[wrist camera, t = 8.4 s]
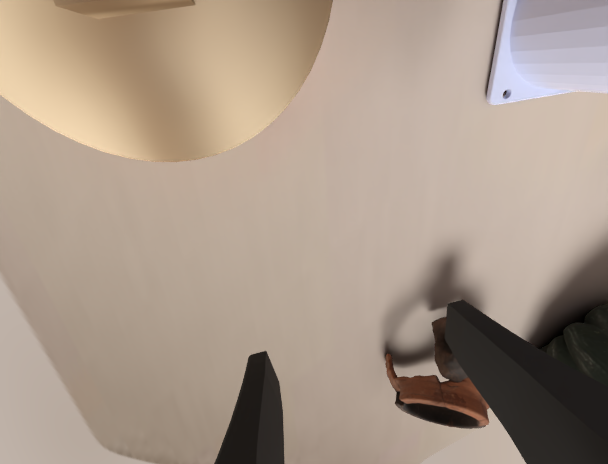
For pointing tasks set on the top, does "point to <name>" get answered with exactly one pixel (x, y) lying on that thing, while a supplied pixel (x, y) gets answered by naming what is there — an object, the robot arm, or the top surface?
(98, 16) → the lid
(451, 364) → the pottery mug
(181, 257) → the top surface
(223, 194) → the top surface
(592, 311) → the squash
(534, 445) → the robot arm
